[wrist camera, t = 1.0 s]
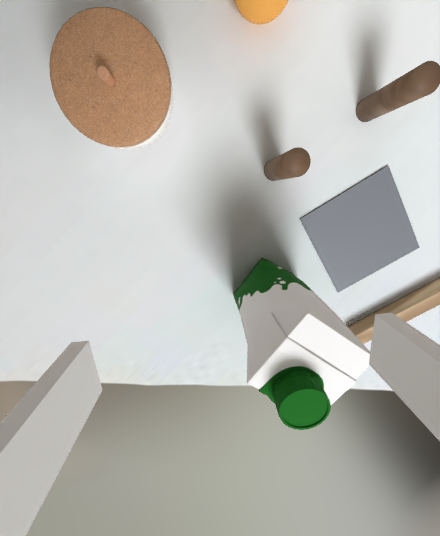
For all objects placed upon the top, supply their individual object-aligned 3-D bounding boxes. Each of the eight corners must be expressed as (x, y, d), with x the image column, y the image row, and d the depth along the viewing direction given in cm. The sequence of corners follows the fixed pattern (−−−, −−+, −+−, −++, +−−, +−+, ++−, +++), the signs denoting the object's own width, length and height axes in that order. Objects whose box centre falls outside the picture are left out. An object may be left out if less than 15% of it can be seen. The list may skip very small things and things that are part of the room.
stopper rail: (345, 328, 40) (354, 336, 37) (441, 277, 38) (456, 282, 35) (350, 337, 40) (359, 346, 38) (444, 287, 38) (460, 293, 36)
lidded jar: (70, 102, 29) (8, 63, 20) (132, 30, 28) (95, -48, 19) (137, 175, 32) (108, 169, 23) (198, 113, 30) (193, 81, 21)
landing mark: (299, 219, 34) (300, 219, 34) (387, 165, 33) (388, 165, 33) (337, 291, 38) (338, 292, 38) (418, 247, 36) (419, 247, 36)
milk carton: (224, 296, 37) (239, 405, 18) (261, 247, 35) (320, 314, 16) (269, 324, 39) (326, 452, 20) (307, 280, 37) (409, 375, 18)
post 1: (260, 166, 32) (278, 157, 24) (278, 155, 32) (303, 141, 23) (270, 184, 33) (291, 182, 24) (287, 173, 33) (314, 167, 24)
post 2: (352, 106, 30) (408, 72, 22) (372, 93, 30) (436, 54, 22) (360, 126, 31) (418, 101, 23) (380, 113, 31) (445, 84, 22)
